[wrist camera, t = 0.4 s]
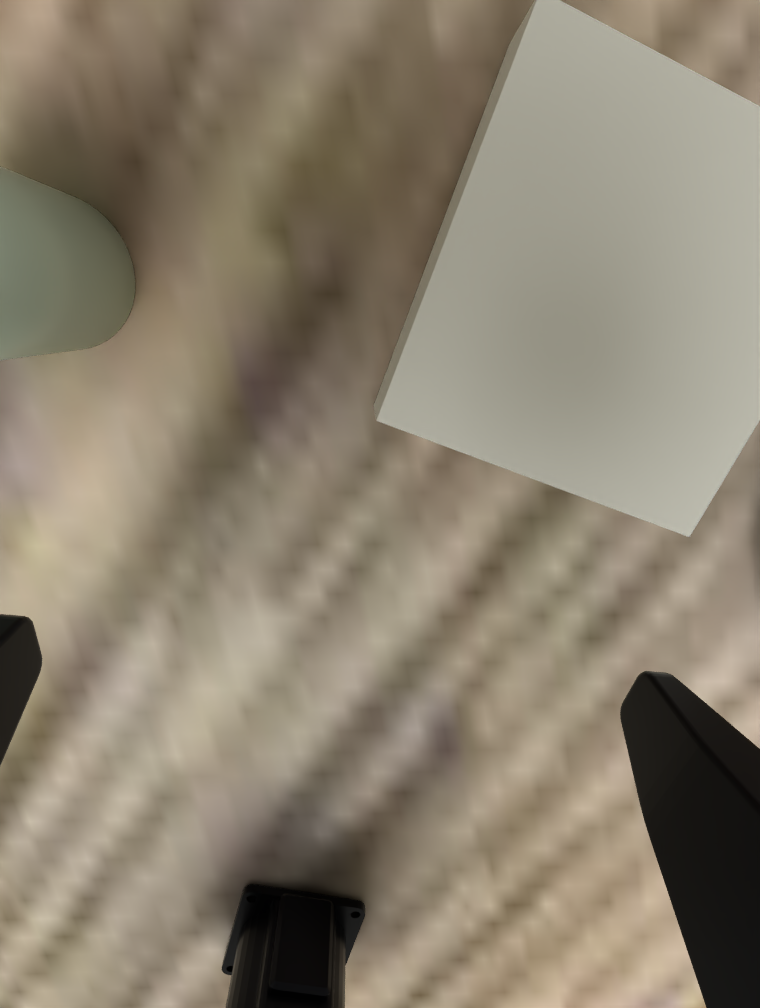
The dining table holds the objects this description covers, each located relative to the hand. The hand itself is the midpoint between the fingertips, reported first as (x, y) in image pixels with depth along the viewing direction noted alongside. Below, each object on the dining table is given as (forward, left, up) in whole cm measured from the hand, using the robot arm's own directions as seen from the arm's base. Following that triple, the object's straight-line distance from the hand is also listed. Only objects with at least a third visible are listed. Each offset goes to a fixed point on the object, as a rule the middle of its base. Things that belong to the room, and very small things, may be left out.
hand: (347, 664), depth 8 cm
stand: (+7, -7, -14) cm, 17 cm away
